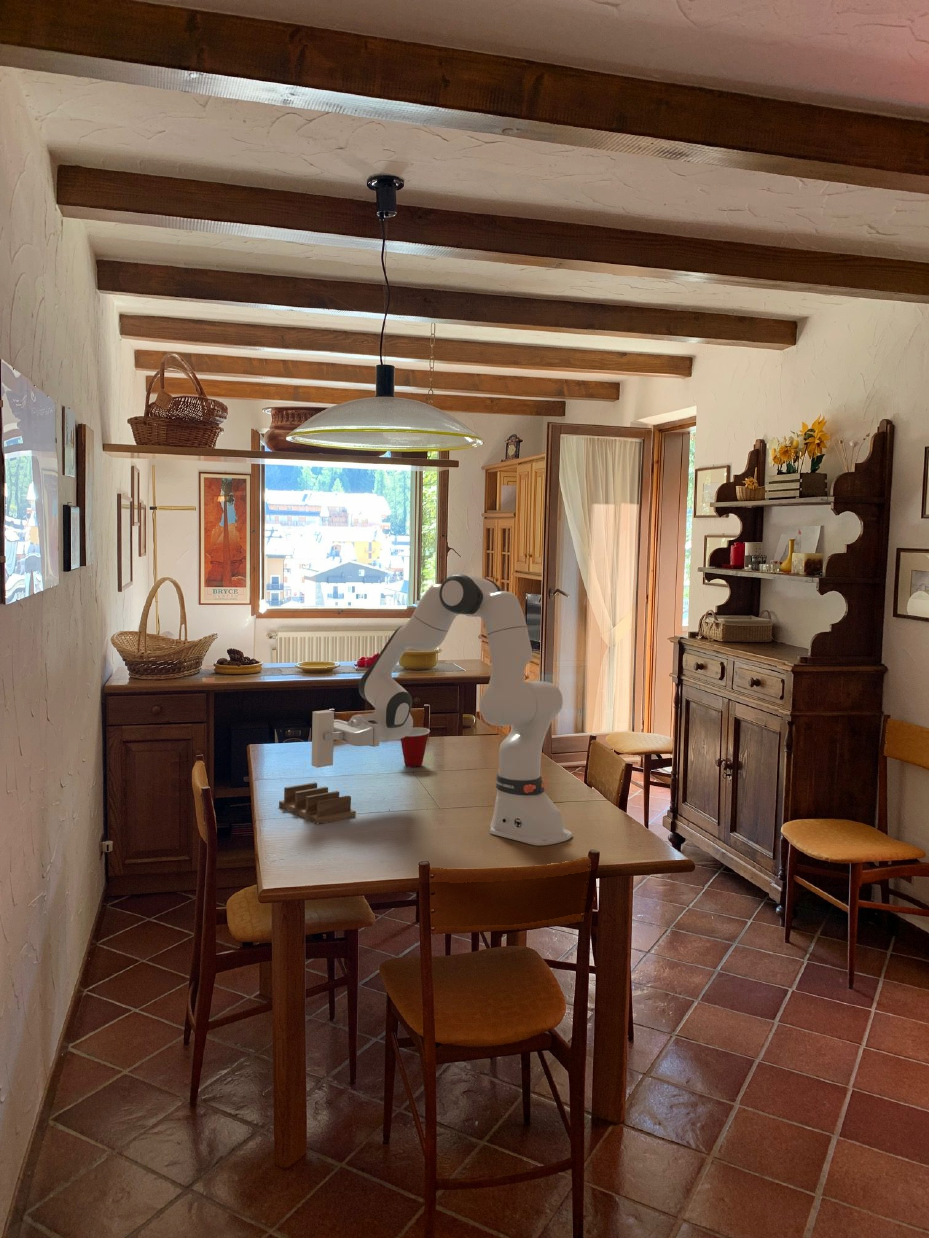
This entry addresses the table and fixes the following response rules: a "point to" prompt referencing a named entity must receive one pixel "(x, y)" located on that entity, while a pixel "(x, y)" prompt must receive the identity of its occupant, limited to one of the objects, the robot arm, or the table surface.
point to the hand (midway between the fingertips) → (320, 735)
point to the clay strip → (320, 746)
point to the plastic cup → (414, 746)
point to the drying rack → (316, 803)
